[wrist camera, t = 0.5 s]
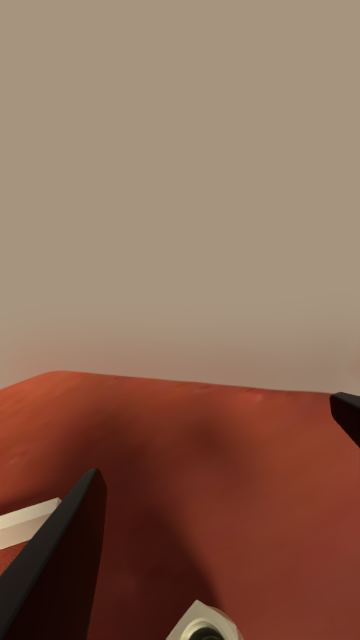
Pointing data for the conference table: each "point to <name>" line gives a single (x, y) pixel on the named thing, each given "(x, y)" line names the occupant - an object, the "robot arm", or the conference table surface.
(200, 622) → the valve
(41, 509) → the frame
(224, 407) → the conference table surface
